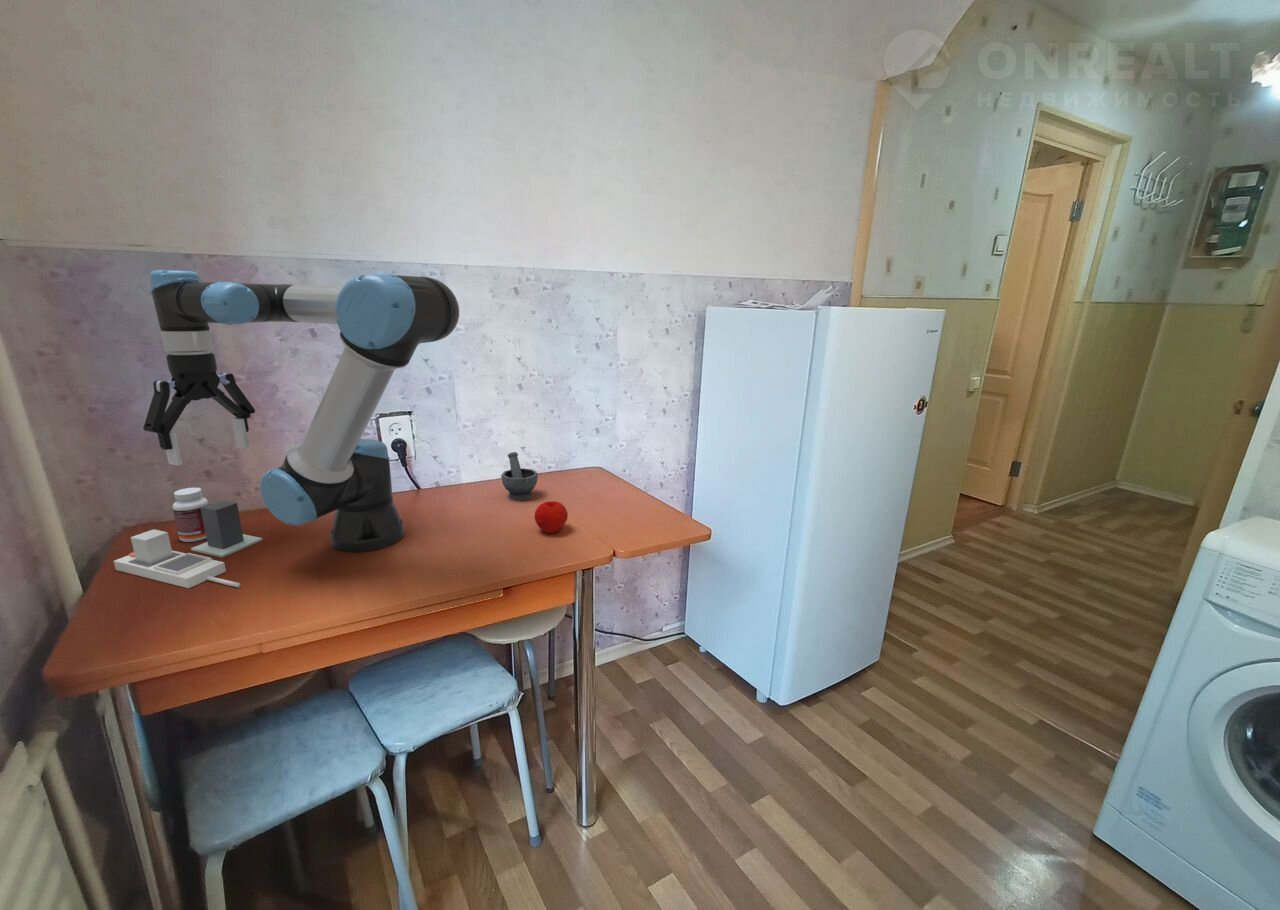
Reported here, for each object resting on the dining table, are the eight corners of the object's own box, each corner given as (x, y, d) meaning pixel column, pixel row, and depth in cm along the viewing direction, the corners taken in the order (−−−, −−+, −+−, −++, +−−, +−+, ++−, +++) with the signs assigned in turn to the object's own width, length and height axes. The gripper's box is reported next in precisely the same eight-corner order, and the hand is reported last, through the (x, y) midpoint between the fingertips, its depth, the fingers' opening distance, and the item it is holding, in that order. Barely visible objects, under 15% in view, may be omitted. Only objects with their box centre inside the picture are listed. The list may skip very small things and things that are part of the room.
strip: (256, 578, 106) (250, 545, 104) (220, 596, 99) (212, 561, 97) (155, 554, 114) (148, 523, 112) (116, 569, 107) (107, 537, 105)
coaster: (262, 540, 122) (262, 538, 122) (222, 557, 114) (221, 555, 113) (232, 534, 124) (232, 532, 124) (191, 550, 116) (190, 548, 116)
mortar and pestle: (542, 499, 152) (542, 458, 148) (510, 505, 147) (509, 462, 143) (527, 487, 161) (526, 448, 157) (496, 492, 156) (494, 452, 152)
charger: (244, 540, 120) (237, 502, 118) (223, 549, 116) (215, 510, 113) (229, 537, 121) (222, 499, 119) (208, 546, 117) (200, 507, 115)
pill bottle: (213, 539, 122) (204, 493, 119) (177, 545, 118) (167, 497, 115) (215, 529, 127) (206, 484, 123) (181, 534, 123) (171, 489, 120)
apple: (555, 521, 137) (555, 493, 135) (574, 531, 132) (574, 502, 130) (528, 529, 132) (527, 501, 130) (547, 540, 126) (547, 511, 124)
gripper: (237, 347, 120) (254, 440, 126) (100, 357, 97) (129, 470, 103) (263, 348, 118) (279, 443, 124) (129, 359, 95) (156, 474, 101)
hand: (211, 455), depth 113 cm, fingers open, 13 cm apart
